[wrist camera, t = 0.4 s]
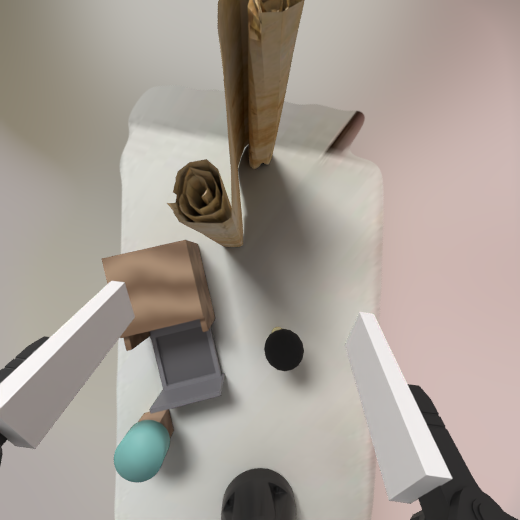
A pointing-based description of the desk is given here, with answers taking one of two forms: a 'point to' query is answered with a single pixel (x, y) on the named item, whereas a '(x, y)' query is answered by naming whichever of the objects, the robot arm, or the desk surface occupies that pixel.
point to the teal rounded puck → (142, 451)
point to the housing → (162, 288)
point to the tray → (186, 365)
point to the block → (160, 419)
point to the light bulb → (283, 349)
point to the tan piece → (242, 110)
